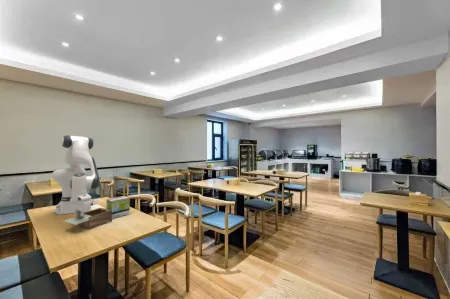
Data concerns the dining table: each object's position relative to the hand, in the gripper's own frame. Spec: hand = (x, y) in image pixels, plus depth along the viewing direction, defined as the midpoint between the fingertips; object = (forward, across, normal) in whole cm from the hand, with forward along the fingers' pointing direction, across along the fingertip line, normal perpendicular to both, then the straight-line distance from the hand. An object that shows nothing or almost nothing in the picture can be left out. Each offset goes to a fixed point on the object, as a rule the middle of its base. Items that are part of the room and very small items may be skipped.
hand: (80, 215), depth 142 cm
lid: (+3, 0, 0) cm, 3 cm away
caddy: (+9, 0, +11) cm, 14 cm away
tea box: (+10, 0, +30) cm, 31 cm away
